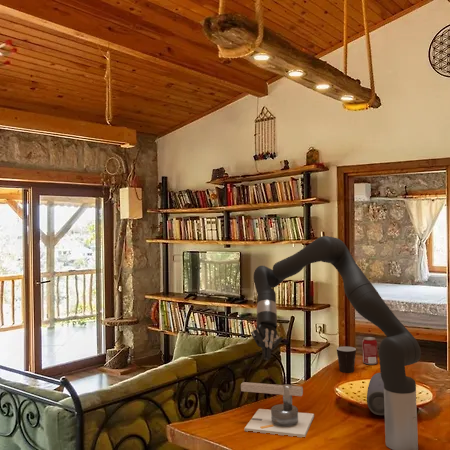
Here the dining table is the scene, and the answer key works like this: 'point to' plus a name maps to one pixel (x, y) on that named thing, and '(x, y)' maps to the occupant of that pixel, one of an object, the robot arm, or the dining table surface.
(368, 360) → the soda can
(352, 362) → the coffee mug
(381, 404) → the bluetooth speaker
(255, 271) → the robot arm
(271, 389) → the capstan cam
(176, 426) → the dining table surface
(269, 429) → the board
